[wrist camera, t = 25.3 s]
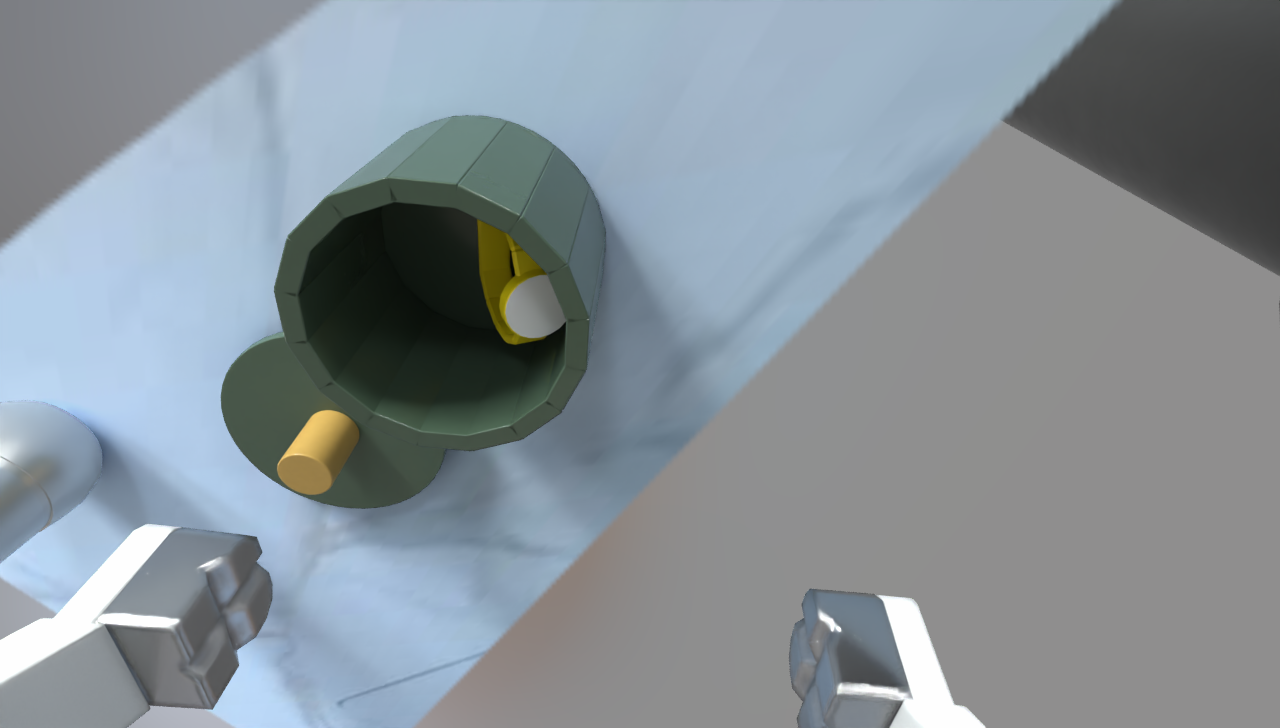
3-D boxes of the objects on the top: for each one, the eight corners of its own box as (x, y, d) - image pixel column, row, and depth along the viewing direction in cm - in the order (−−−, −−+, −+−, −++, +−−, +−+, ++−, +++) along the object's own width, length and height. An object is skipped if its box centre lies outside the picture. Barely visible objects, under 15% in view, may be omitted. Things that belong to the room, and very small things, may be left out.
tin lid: (443, 334, 33) (414, 388, 29) (456, 502, 39) (433, 566, 35) (208, 311, 33) (146, 364, 29) (258, 484, 39) (213, 547, 35)
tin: (613, 128, 27) (597, 197, 20) (598, 348, 33) (581, 461, 26) (352, 102, 27) (243, 162, 20) (382, 328, 33) (306, 437, 26)
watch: (455, 179, 27) (500, 233, 23) (520, 173, 28) (575, 223, 24) (466, 309, 31) (507, 378, 26) (524, 299, 32) (573, 363, 27)
